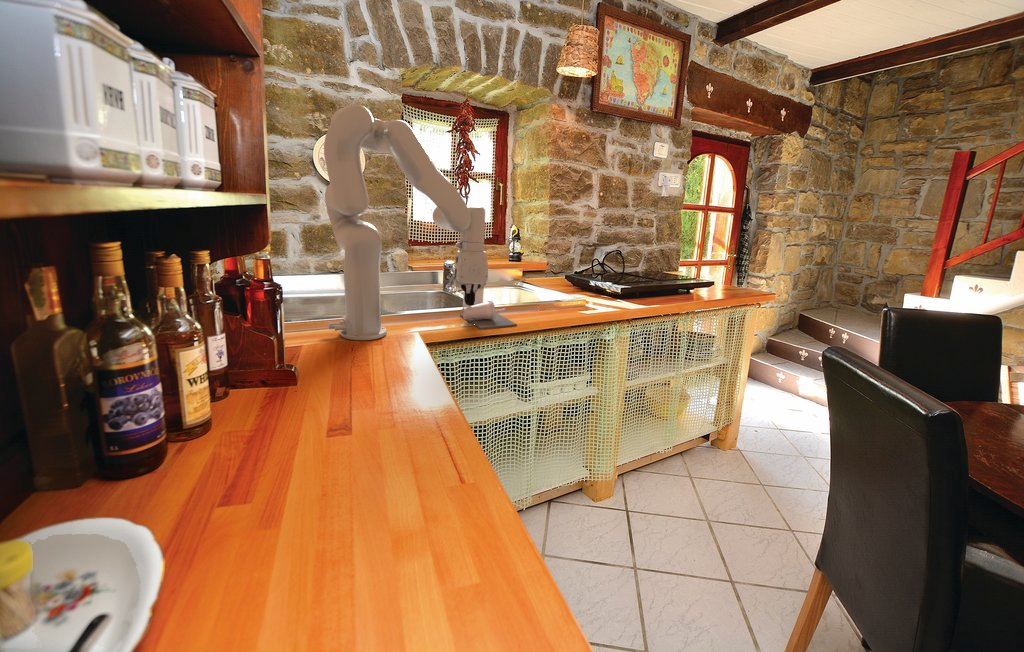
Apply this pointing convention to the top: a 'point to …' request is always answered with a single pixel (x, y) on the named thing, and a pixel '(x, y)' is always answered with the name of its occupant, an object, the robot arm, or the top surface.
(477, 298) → the canister
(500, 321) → the mat
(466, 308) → the smoothie
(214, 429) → the top surface
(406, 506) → the top surface
